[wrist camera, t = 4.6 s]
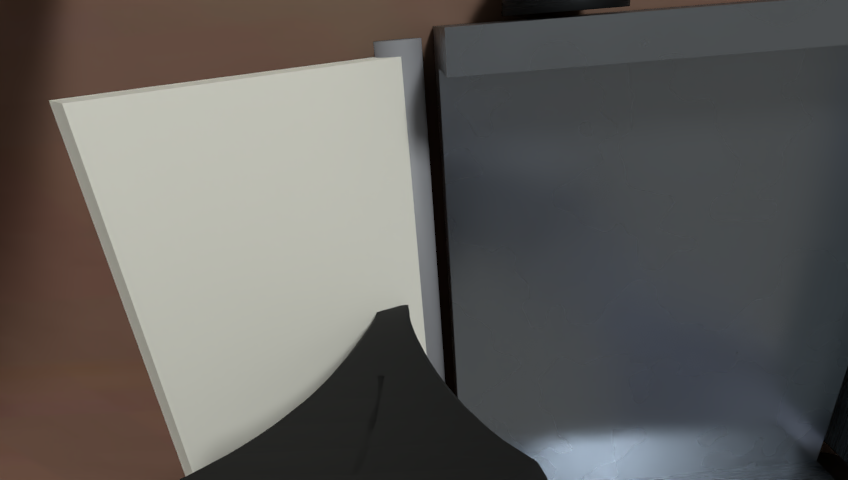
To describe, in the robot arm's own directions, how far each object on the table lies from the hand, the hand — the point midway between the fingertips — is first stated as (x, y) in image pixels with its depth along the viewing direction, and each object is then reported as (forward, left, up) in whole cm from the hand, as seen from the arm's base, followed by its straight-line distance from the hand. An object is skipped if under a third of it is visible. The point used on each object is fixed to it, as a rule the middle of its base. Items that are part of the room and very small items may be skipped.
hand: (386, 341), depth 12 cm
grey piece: (0, -10, -1) cm, 10 cm away
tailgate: (0, -1, -1) cm, 1 cm away
